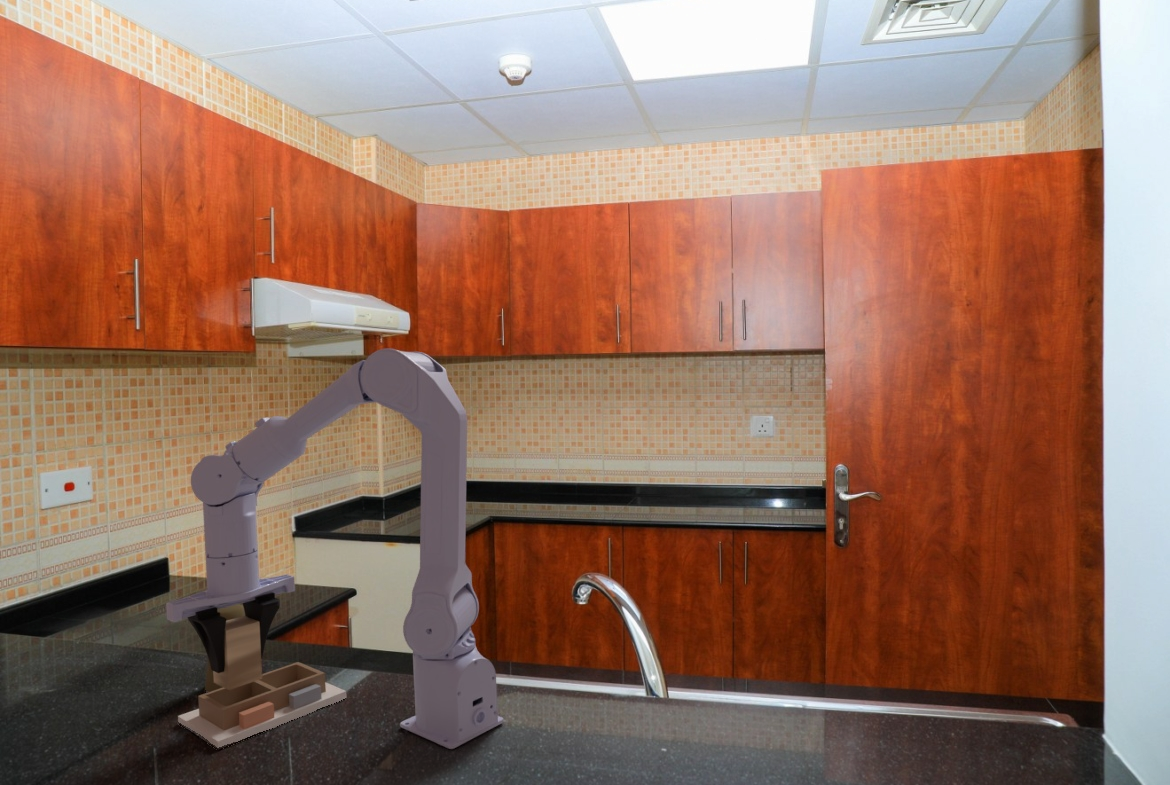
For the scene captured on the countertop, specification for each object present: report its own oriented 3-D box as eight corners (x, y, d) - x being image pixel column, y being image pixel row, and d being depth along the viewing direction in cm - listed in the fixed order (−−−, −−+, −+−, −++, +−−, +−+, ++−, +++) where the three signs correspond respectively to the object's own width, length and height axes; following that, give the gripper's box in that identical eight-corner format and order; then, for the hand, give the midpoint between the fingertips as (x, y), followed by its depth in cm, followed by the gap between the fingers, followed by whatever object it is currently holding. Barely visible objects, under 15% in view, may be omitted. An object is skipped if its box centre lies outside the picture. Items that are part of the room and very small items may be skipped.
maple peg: (262, 678, 88) (259, 621, 88) (228, 690, 85) (225, 630, 85) (246, 671, 91) (243, 615, 91) (213, 682, 88) (210, 624, 88)
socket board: (346, 698, 93) (345, 672, 93) (218, 750, 81) (216, 720, 81) (302, 679, 100) (301, 654, 100) (178, 724, 88) (176, 696, 88)
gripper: (273, 538, 96) (278, 640, 96) (153, 561, 85) (159, 676, 85) (301, 543, 92) (306, 650, 92) (178, 569, 80) (184, 691, 81)
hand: (237, 664), depth 88 cm, fingers closed on maple peg, 4 cm apart
